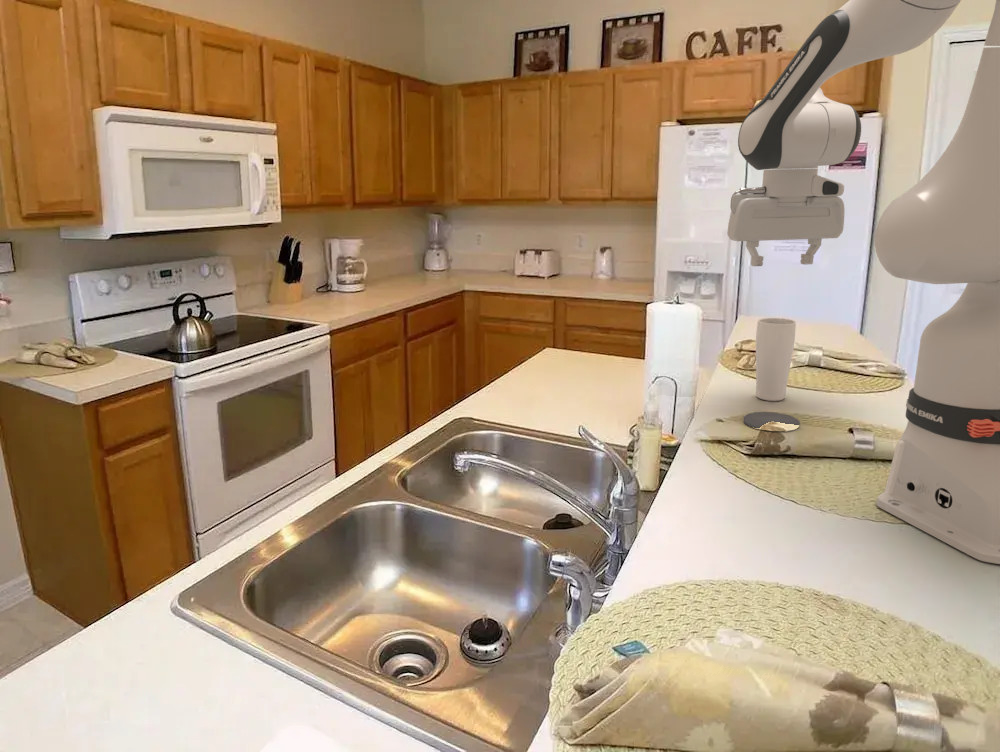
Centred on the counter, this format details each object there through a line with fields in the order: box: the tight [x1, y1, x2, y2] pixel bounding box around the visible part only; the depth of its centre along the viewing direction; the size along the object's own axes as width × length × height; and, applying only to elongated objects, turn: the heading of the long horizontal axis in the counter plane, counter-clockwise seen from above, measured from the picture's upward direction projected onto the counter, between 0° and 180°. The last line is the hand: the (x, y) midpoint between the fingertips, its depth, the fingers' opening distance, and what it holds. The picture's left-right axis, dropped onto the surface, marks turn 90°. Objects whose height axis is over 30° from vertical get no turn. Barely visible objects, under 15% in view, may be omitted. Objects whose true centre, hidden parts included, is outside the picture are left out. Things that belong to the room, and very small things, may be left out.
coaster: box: [743, 411, 801, 429], centre depth 118 cm, size 9×9×1 cm
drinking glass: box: [755, 317, 797, 402], centre depth 130 cm, size 7×7×15 cm
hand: (781, 265), depth 125 cm, fingers open, 8 cm apart
